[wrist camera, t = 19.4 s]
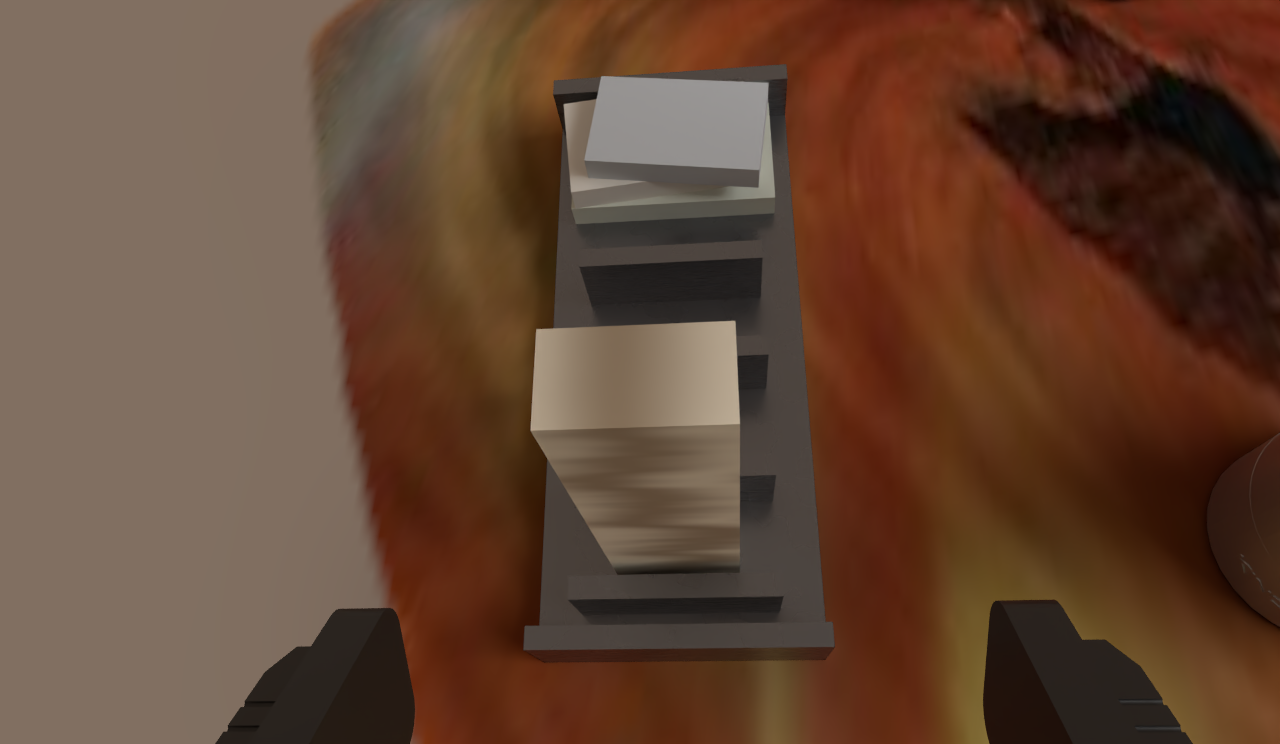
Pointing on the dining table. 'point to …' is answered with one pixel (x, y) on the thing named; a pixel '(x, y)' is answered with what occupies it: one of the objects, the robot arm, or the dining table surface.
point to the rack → (769, 428)
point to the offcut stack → (670, 150)
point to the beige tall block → (646, 440)
